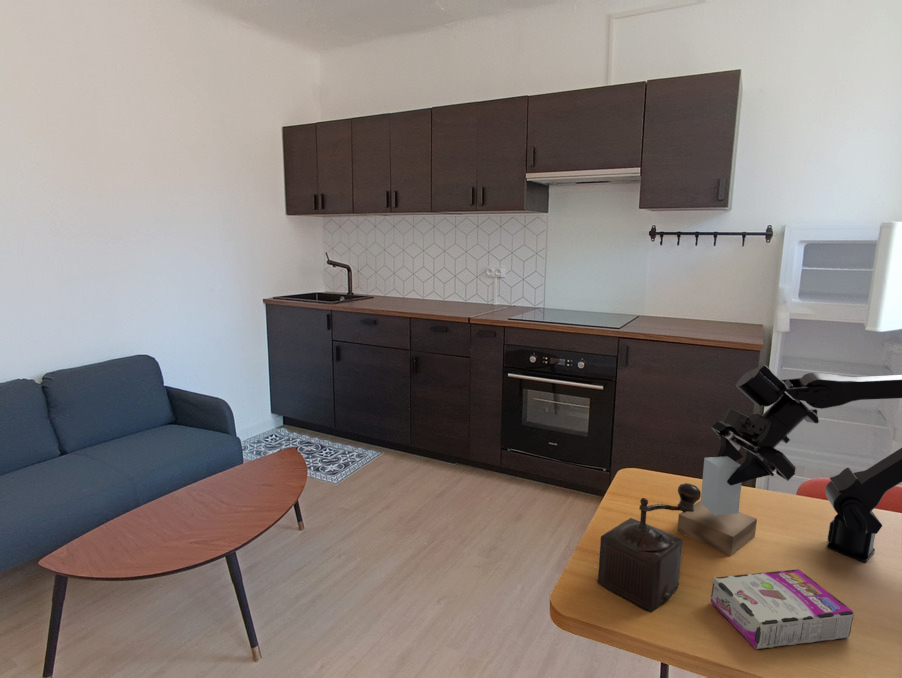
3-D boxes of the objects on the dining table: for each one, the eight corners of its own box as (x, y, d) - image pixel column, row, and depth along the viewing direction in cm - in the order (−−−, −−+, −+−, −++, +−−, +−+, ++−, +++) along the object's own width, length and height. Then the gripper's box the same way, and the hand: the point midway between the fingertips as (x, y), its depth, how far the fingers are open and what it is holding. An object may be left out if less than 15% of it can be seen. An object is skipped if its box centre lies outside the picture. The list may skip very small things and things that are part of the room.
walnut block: (754, 536, 112) (757, 518, 111) (731, 555, 105) (733, 536, 104) (702, 515, 120) (704, 498, 119) (677, 531, 113) (678, 514, 112)
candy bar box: (795, 594, 94) (708, 601, 91) (799, 568, 93) (712, 575, 90) (851, 641, 83) (754, 651, 80) (856, 612, 82) (759, 621, 80)
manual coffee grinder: (654, 616, 88) (663, 514, 84) (595, 583, 96) (602, 489, 93) (696, 577, 98) (706, 485, 95) (640, 551, 106) (647, 465, 103)
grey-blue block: (722, 501, 112) (727, 456, 110) (738, 513, 107) (743, 466, 106) (700, 503, 112) (704, 457, 110) (714, 515, 107) (719, 467, 105)
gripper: (723, 383, 115) (671, 435, 116) (788, 411, 97) (725, 472, 97) (754, 417, 117) (702, 468, 118) (822, 450, 99) (761, 510, 100)
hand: (720, 477), depth 108 cm, fingers closed on grey-blue block, 5 cm apart
